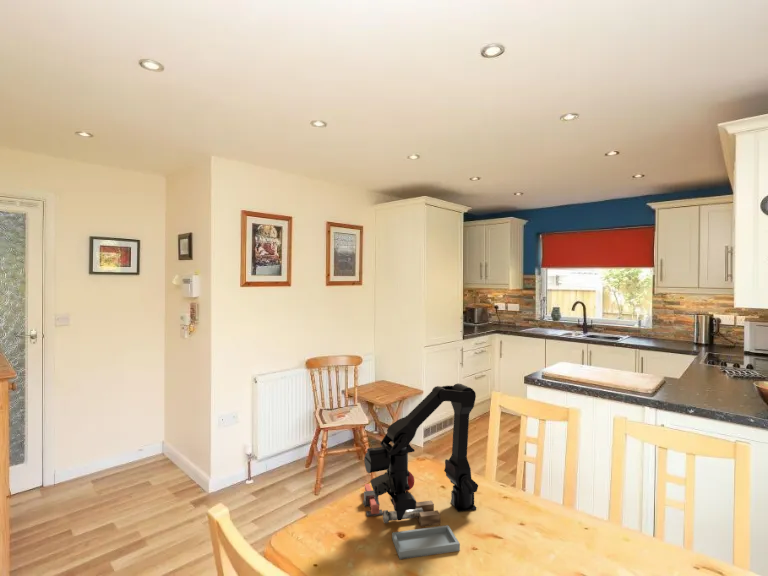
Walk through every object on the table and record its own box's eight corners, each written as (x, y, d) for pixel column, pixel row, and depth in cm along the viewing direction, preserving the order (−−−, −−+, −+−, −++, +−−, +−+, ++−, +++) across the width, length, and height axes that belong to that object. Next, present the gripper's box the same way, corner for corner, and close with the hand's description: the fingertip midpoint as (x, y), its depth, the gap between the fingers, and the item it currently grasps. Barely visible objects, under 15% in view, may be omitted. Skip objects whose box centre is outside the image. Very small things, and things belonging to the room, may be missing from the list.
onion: (414, 487, 145) (414, 465, 145) (414, 495, 139) (414, 472, 139) (398, 486, 145) (398, 464, 145) (397, 495, 140) (397, 472, 140)
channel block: (431, 509, 131) (431, 500, 131) (440, 524, 123) (440, 514, 123) (413, 511, 129) (413, 502, 129) (421, 526, 122) (421, 516, 122)
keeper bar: (370, 488, 142) (370, 481, 142) (379, 513, 127) (379, 505, 127) (363, 488, 142) (363, 482, 142) (371, 514, 126) (371, 506, 126)
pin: (420, 514, 127) (420, 503, 127) (423, 520, 124) (423, 509, 124) (382, 519, 125) (382, 508, 125) (385, 525, 122) (385, 514, 122)
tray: (448, 531, 119) (448, 525, 119) (459, 550, 110) (459, 543, 110) (392, 539, 115) (392, 532, 115) (399, 559, 107) (399, 552, 107)
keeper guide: (377, 500, 136) (377, 490, 136) (382, 514, 128) (382, 503, 128) (363, 502, 135) (363, 491, 135) (367, 516, 127) (367, 505, 127)
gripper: (367, 456, 131) (367, 504, 132) (378, 484, 113) (378, 539, 113) (400, 453, 134) (400, 500, 134) (416, 480, 116) (416, 534, 116)
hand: (398, 517), depth 124 cm, fingers closed on pin, 2 cm apart
